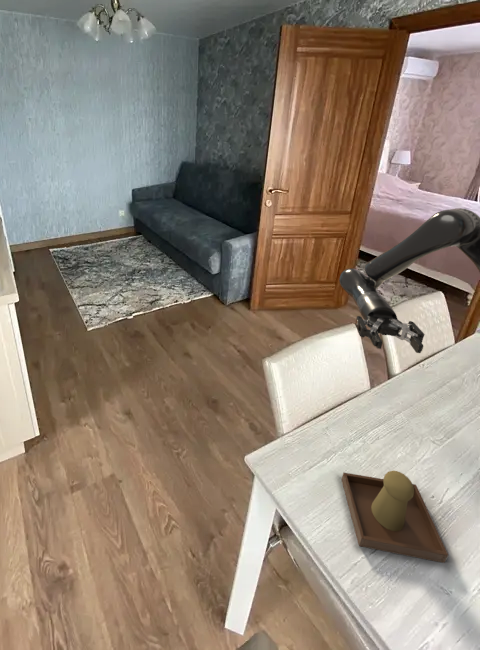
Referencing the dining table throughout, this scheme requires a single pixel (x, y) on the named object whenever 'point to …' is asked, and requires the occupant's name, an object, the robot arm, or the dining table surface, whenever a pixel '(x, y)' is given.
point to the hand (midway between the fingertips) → (399, 347)
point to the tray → (410, 540)
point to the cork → (393, 500)
